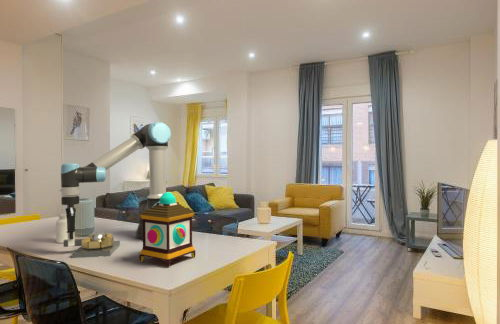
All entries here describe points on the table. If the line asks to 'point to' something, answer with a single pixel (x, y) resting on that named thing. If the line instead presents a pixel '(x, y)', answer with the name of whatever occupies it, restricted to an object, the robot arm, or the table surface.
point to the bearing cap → (96, 251)
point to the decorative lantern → (167, 230)
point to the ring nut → (93, 242)
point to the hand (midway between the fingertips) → (71, 245)
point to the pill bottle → (61, 229)
